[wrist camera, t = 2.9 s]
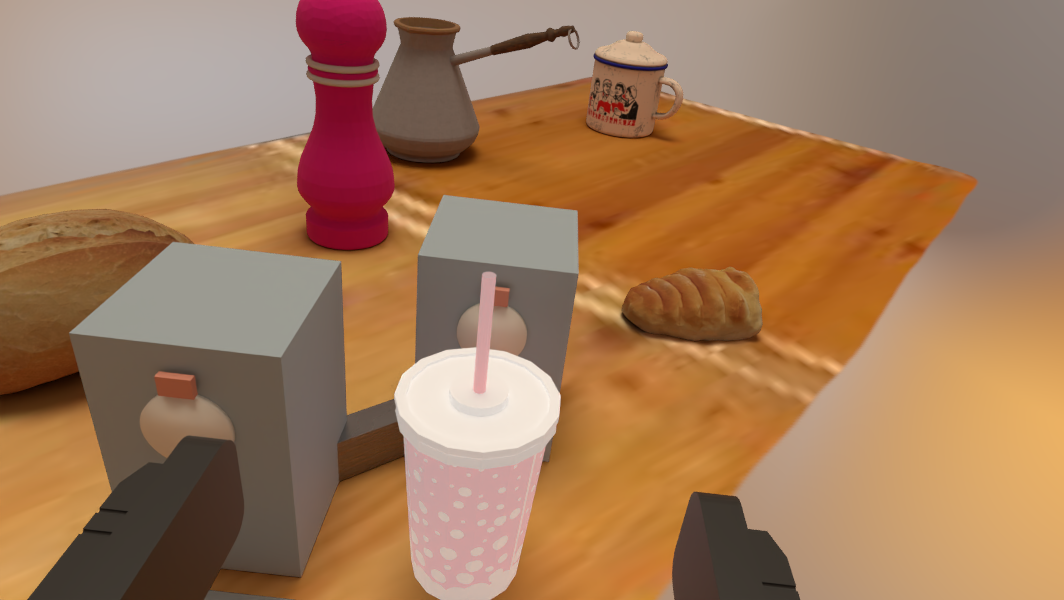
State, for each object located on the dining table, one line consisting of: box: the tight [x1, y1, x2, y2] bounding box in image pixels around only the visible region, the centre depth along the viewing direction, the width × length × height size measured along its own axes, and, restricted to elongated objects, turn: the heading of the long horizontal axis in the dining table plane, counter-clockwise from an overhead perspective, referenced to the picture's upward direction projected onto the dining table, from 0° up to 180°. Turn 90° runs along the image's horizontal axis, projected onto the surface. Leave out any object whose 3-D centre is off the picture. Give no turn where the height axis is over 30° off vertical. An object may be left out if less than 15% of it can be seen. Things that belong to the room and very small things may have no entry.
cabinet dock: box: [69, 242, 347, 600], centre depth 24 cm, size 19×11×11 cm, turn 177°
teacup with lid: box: [586, 31, 683, 138], centre depth 87 cm, size 12×9×12 cm
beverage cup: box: [394, 272, 561, 600], centre depth 27 cm, size 6×6×14 cm
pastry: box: [622, 267, 762, 341], centre depth 49 cm, size 9×7×4 cm
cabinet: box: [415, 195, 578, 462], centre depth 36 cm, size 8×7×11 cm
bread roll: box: [0, 209, 194, 395], centre depth 38 cm, size 10×15×8 cm, turn 140°
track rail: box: [337, 399, 405, 482], centre depth 35 cm, size 13×2×2 cm, turn 127°
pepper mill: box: [296, 0, 394, 250], centre depth 51 cm, size 7×7×20 cm
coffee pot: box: [372, 17, 580, 163], centre depth 70 cm, size 21×12×15 cm, turn 67°
